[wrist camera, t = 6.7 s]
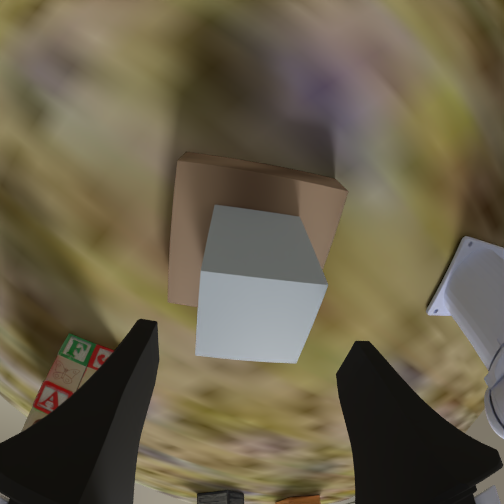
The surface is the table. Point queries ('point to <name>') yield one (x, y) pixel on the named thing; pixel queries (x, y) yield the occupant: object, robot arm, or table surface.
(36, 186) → the table surface
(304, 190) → the walnut block
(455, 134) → the table surface
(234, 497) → the small box
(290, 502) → the whiskey bottle
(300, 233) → the slate block
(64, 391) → the stack of blocks
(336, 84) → the table surface
